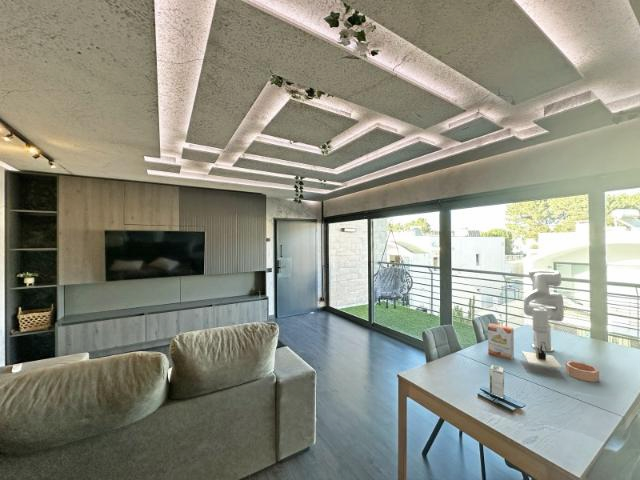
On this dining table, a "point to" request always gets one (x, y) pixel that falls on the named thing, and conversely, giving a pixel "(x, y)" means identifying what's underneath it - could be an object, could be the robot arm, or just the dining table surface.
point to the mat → (542, 370)
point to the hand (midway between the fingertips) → (540, 357)
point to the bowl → (582, 371)
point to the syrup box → (497, 380)
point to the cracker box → (501, 341)
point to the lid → (534, 359)
